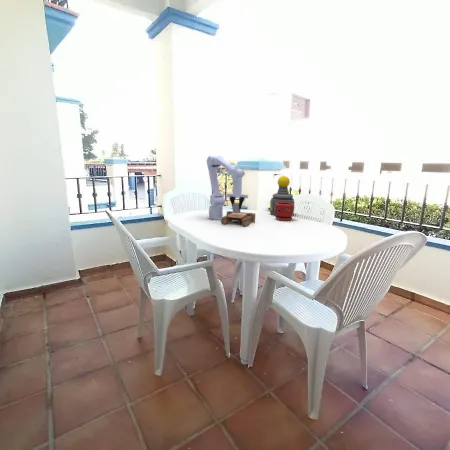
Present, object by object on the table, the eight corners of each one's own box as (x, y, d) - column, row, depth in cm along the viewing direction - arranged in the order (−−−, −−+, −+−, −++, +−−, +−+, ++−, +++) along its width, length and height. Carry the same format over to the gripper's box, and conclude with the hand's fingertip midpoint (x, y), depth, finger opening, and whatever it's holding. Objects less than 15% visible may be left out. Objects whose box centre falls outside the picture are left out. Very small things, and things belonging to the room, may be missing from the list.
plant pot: (295, 221, 192) (296, 204, 189) (276, 221, 192) (277, 204, 189) (291, 217, 204) (292, 201, 202) (273, 217, 205) (274, 201, 202)
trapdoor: (227, 216, 181) (227, 215, 181) (233, 214, 190) (233, 212, 190) (242, 218, 178) (242, 216, 177) (246, 215, 187) (246, 213, 186)
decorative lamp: (275, 217, 205) (278, 176, 198) (265, 212, 223) (267, 175, 216) (298, 216, 210) (301, 176, 203) (286, 211, 228) (289, 175, 220)
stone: (232, 212, 180) (232, 203, 179) (234, 211, 184) (234, 202, 182) (238, 213, 179) (238, 204, 177) (240, 212, 182) (240, 203, 181)
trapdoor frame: (219, 224, 182) (219, 215, 180) (228, 219, 196) (228, 211, 195) (248, 227, 175) (248, 217, 173) (255, 221, 189) (255, 213, 188)
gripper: (224, 187, 177) (224, 208, 180) (246, 188, 171) (245, 210, 175) (228, 186, 183) (228, 206, 186) (249, 187, 178) (248, 208, 181)
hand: (236, 208), depth 181 cm, fingers open, 4 cm apart
